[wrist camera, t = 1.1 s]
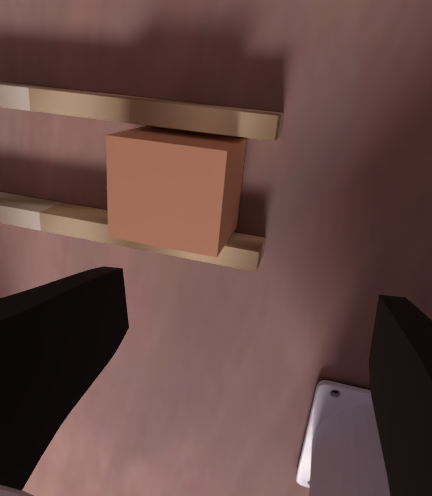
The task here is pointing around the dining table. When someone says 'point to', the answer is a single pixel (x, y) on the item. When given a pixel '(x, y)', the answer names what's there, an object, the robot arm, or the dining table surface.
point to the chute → (136, 112)
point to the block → (174, 188)
